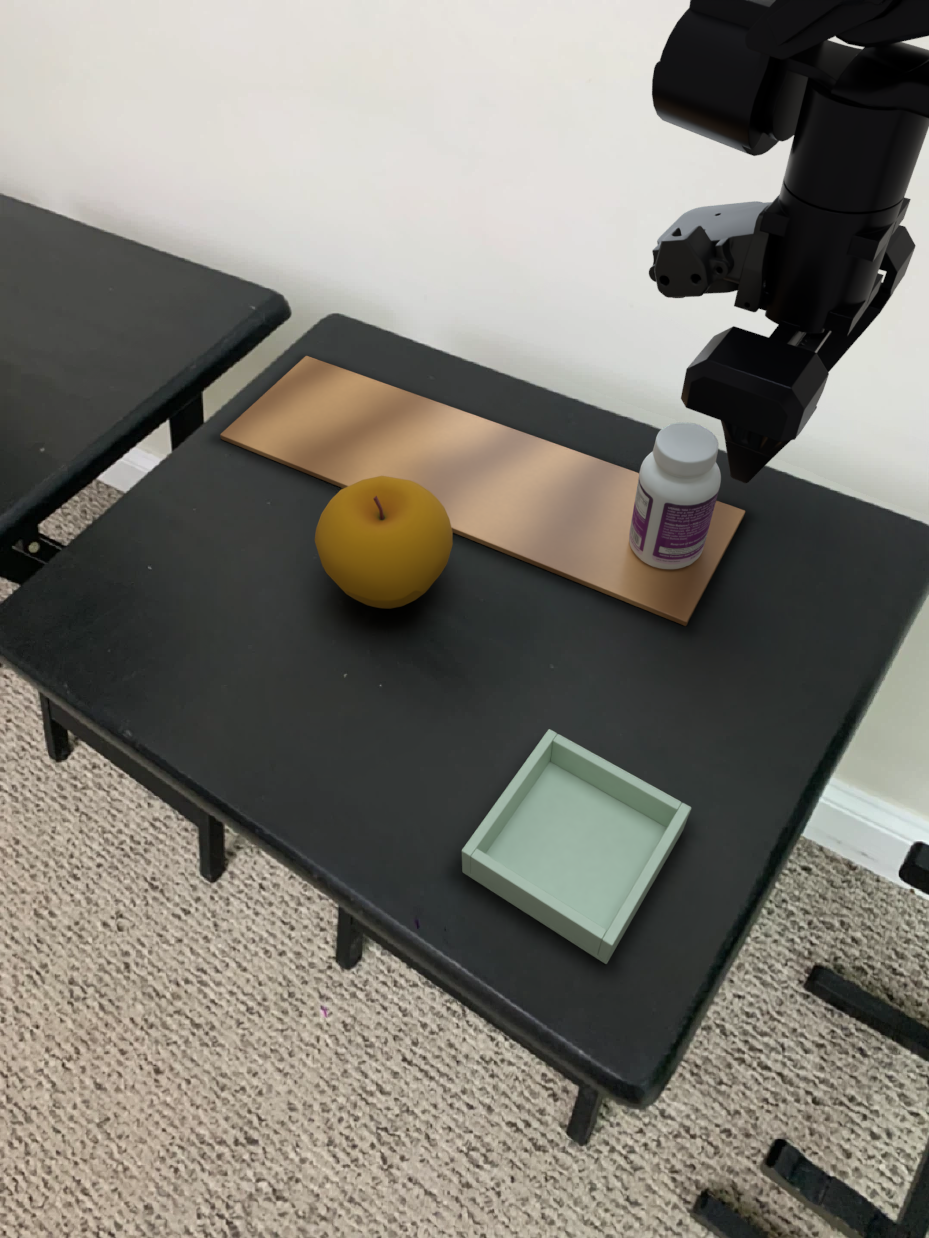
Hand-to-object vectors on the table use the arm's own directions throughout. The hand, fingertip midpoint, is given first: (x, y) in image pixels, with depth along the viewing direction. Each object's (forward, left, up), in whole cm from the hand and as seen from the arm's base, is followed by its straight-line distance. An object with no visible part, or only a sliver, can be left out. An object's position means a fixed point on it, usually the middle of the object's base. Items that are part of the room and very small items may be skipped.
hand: (769, 436), depth 57 cm
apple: (+13, +20, -12) cm, 27 cm away
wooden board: (+19, +9, -12) cm, 24 cm away
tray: (-9, +24, -12) cm, 28 cm away
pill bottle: (+4, +3, -11) cm, 12 cm away
